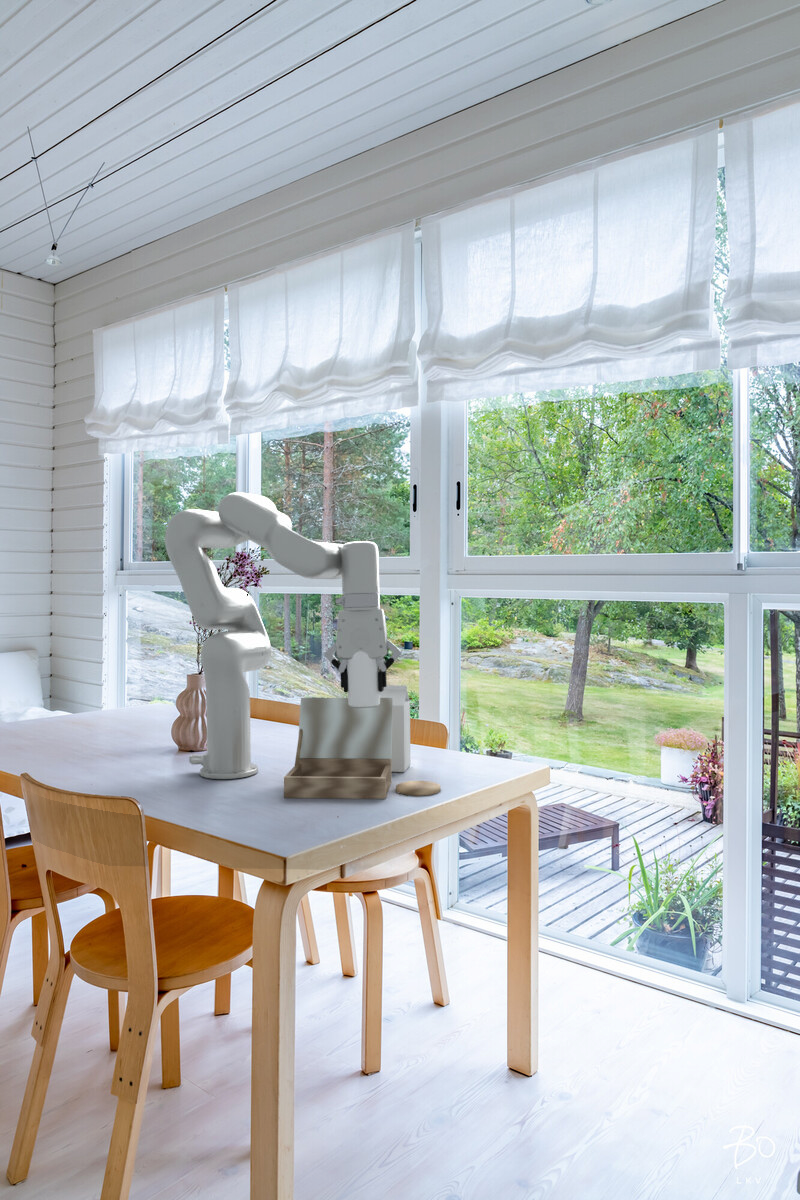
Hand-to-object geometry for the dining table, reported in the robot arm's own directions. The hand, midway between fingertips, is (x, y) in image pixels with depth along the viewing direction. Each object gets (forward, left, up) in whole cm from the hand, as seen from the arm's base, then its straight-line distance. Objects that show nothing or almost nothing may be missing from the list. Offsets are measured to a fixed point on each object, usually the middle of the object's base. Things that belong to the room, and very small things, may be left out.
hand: (364, 690), depth 162 cm
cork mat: (+11, +1, -20) cm, 23 cm away
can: (0, 0, -3) cm, 3 cm away
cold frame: (-5, +2, -20) cm, 21 cm away
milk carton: (+4, +20, -21) cm, 29 cm away
